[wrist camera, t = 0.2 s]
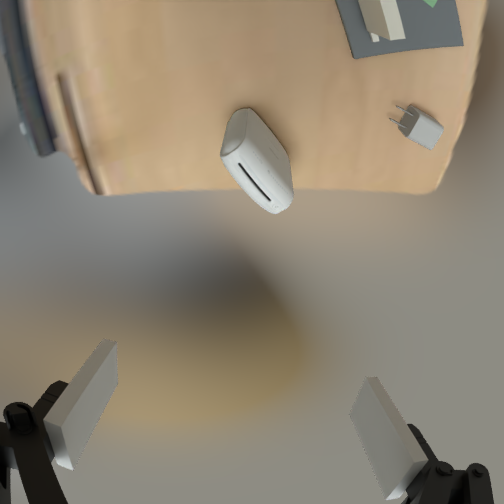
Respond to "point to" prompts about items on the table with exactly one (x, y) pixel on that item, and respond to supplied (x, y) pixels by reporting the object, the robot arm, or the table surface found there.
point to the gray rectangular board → (404, 27)
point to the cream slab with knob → (382, 19)
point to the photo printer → (257, 161)
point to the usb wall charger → (419, 127)
